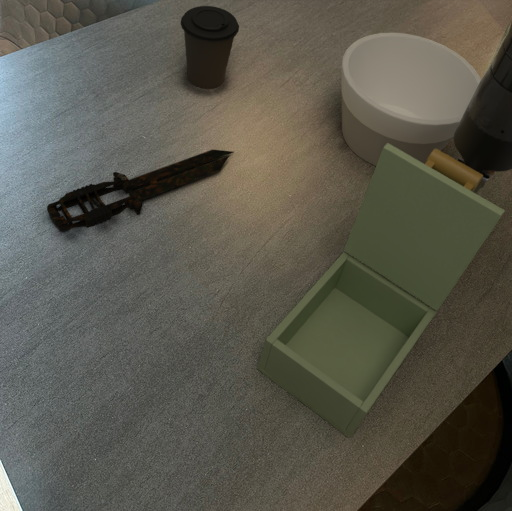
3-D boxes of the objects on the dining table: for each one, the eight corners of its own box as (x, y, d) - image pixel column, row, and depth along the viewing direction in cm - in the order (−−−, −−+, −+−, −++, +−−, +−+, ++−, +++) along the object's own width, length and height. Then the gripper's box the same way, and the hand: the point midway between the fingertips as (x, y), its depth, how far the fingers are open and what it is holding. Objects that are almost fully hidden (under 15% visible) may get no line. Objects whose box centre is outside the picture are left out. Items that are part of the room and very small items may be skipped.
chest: (349, 438, 62) (366, 413, 57) (256, 369, 65) (265, 339, 60) (417, 341, 70) (437, 311, 65) (331, 283, 73) (344, 250, 68)
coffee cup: (226, 100, 91) (232, 39, 83) (171, 87, 91) (173, 25, 83) (238, 67, 96) (245, 8, 88) (186, 55, 96) (189, -6, 88)
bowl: (473, 183, 87) (508, 124, 78) (341, 186, 83) (362, 124, 75) (430, 93, 98) (456, 33, 90) (311, 93, 94) (327, 29, 86)
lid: (501, 215, 52) (524, 181, 55) (383, 146, 55) (410, 118, 58) (437, 311, 64) (458, 280, 67) (343, 250, 68) (367, 223, 70)
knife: (228, 148, 85) (229, 140, 84) (251, 180, 82) (252, 173, 81) (42, 200, 75) (40, 191, 74) (59, 238, 72) (57, 231, 71)
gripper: (513, 169, 58) (448, 270, 71) (563, 100, 66) (496, 203, 79) (442, 130, 61) (391, 235, 73) (499, 67, 68) (444, 173, 81)
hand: (446, 218), depth 76 cm, fingers open, 8 cm apart
